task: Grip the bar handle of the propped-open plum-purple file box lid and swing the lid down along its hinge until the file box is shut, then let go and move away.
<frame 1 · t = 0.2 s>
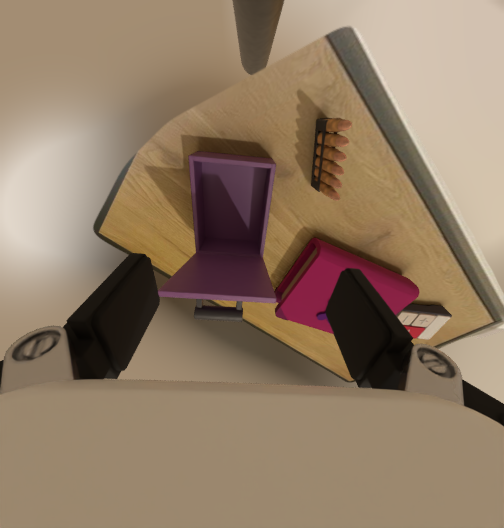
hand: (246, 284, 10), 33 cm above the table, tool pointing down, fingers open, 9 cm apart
book: (335, 285, 54), on the table
file box: (233, 202, 41), on the table
ammunition clip: (318, 154, 37), on the table
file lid: (224, 283, 32), point 16 cm above the table, hinge at 72.0°
calculator: (407, 315, 61), on the table
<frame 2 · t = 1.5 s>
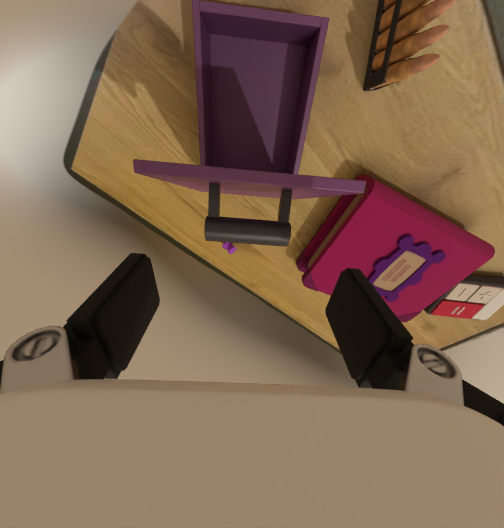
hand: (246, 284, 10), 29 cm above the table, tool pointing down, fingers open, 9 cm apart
book: (375, 249, 43), on the table
file box: (253, 119, 30), on the table
ammunition clip: (379, 35, 25), on the table
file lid: (248, 208, 21), point 16 cm above the table, hinge at 72.0°
pushpin: (229, 242, 42), on the table
calculator: (459, 291, 50), on the table
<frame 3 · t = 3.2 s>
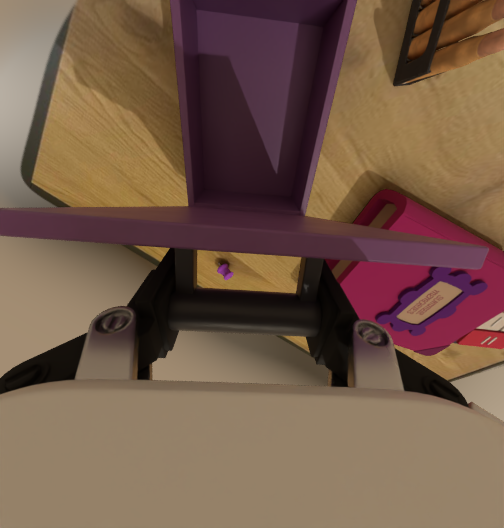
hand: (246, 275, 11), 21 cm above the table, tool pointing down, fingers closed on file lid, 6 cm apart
book: (396, 272, 37), on the table
file box: (253, 122, 24), on the table
ammunition clip: (418, 12, 19), on the table
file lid: (246, 247, 15), point 16 cm above the table, hinge at 72.0°, touching gripper
pushpin: (225, 265, 36), on the table
calculator: (488, 317, 44), on the table
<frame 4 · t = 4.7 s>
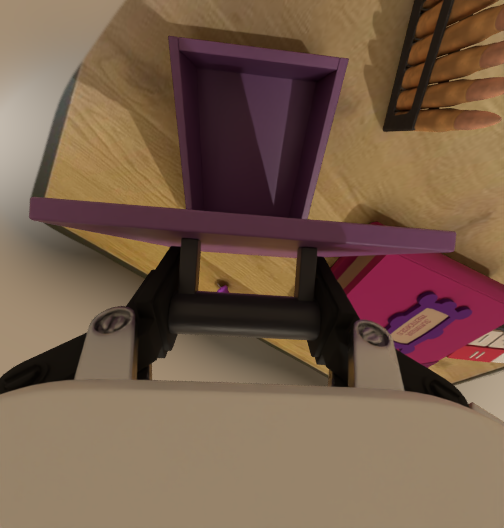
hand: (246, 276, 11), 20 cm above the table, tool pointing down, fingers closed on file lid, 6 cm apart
book: (388, 292, 38), on the table
file box: (250, 162, 25), on the table
ammunition clip: (406, 68, 20), on the table
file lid: (245, 272, 15), point 16 cm above the table, hinge at 55.7°, touching gripper
pushpin: (225, 286, 37), on the table
calculator: (477, 331, 46), on the table
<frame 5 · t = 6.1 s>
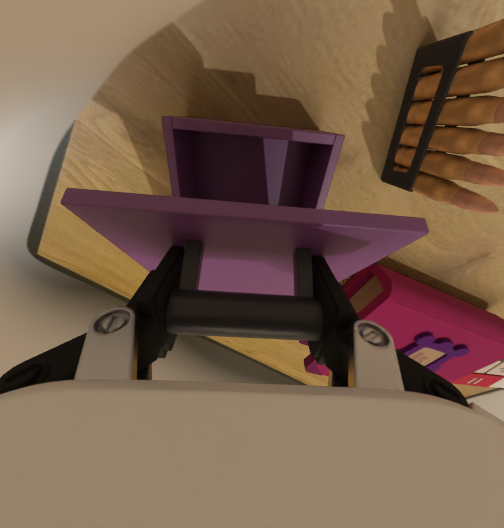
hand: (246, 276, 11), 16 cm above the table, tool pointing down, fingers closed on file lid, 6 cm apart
book: (386, 322, 38), on the table
file box: (247, 208, 25), on the table
ammunition clip: (404, 123, 20), on the table
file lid: (242, 304, 15), point 14 cm above the table, hinge at 33.9°, touching gripper
calculator: (476, 356, 46), on the table
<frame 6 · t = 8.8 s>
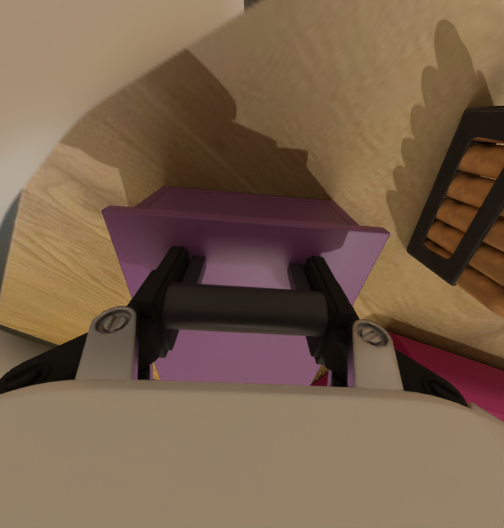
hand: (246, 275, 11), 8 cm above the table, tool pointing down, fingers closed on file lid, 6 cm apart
book: (402, 381, 34), on the table
file box: (243, 279, 21), on the table
ammunition clip: (440, 192, 16), on the table
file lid: (239, 363, 13), point 9 cm above the table, hinge at -0.2°, touching file box, gripper
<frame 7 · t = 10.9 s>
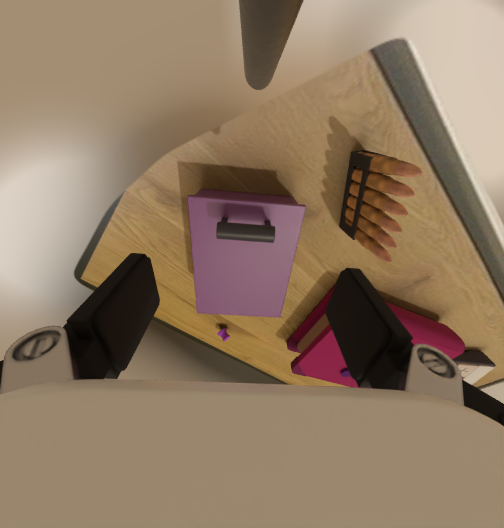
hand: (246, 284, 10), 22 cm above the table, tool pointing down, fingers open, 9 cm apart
book: (359, 331, 46), on the table
file box: (243, 245, 34), on the table
ammunition clip: (350, 192, 30), on the table
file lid: (242, 275, 26), point 9 cm above the table, hinge at -0.2°, touching file box
pushpin: (224, 327, 45), on the table
calculator: (440, 361, 53), on the table
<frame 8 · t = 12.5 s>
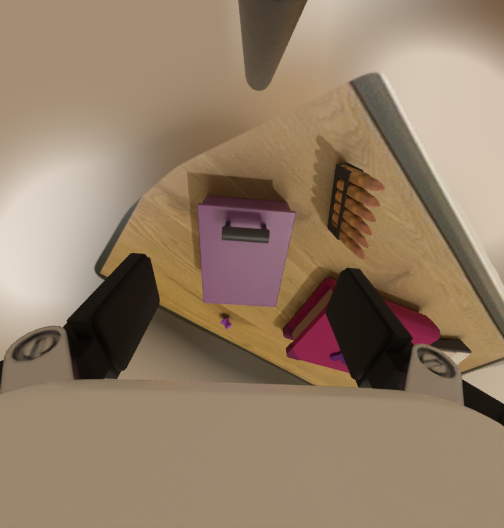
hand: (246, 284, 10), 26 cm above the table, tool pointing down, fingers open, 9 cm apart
book: (348, 321, 51), on the table
file box: (244, 244, 39), on the table
ammunition clip: (336, 198, 34), on the table
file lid: (242, 270, 31), point 9 cm above the table, hinge at -0.2°, touching file box
pushpin: (226, 317, 50), on the table
calculator: (423, 348, 58), on the table
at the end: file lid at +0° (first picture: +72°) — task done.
